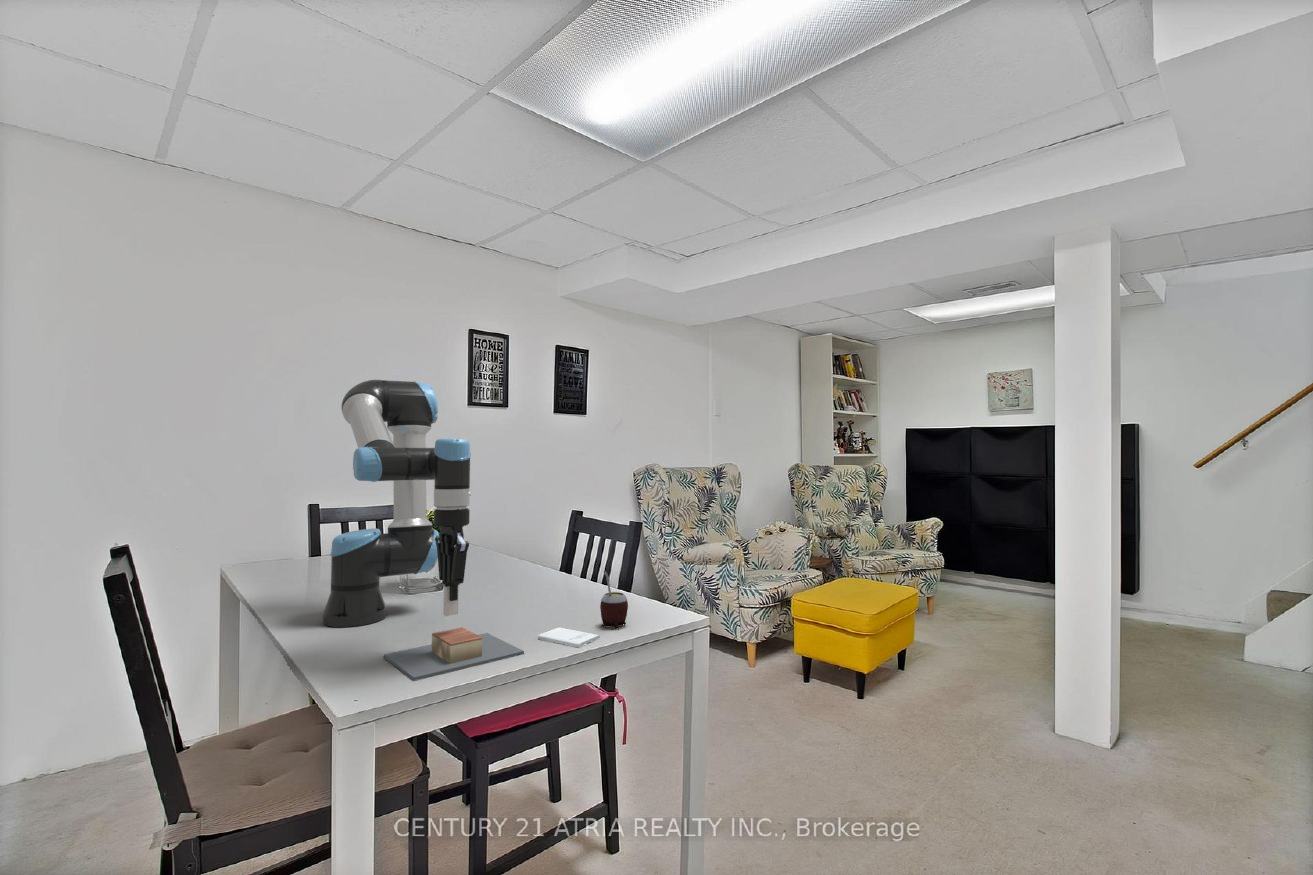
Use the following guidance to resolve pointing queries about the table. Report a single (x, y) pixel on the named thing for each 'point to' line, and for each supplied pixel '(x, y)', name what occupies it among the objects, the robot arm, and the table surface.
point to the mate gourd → (613, 607)
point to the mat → (429, 664)
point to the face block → (456, 645)
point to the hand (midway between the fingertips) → (450, 614)
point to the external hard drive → (568, 637)
